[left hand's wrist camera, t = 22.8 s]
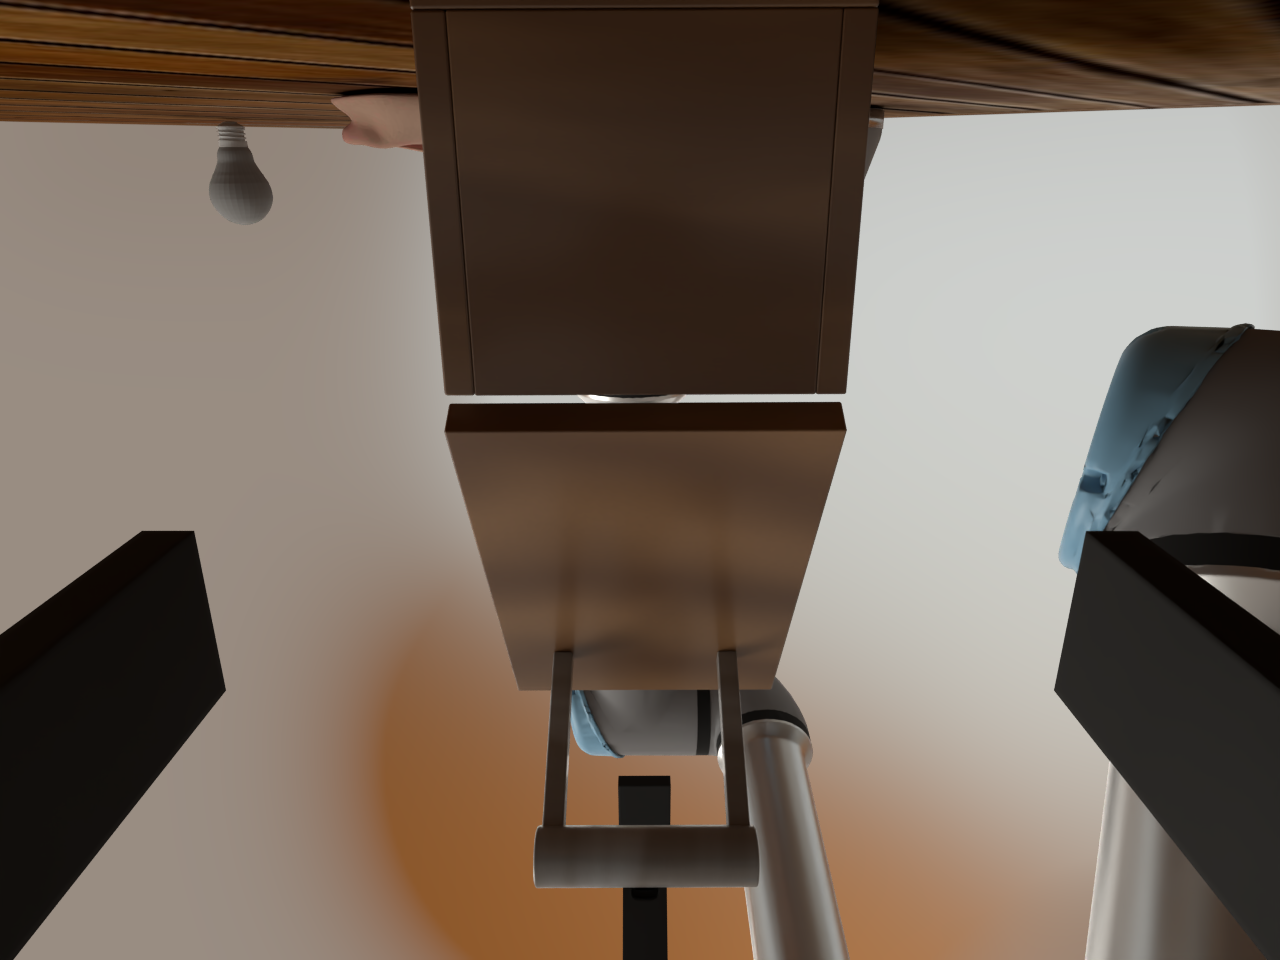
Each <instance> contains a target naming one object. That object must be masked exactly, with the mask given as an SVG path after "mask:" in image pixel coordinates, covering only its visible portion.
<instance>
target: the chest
mask: <svg viewBox="0 0 1280 960" xmlns="http://www.w3.org/2000/svg"><path fill="white" fill-rule="evenodd" d="M878 4H879V0H410V7H411V9H412V10H413V11H411V22H412V33H413V44H414V56H415V67H416V78H417V89H418V100H419V111H420V123H421V134H422V145H423V156H424V167H425V178H426V190H427V200H428V212H429V223H430V234H431V245H432V257H433V267H434V279H435V290H436V301H437V312H438V324H439V335H440V346H441V357H442V368H443V379H444V390H445V394H446V395H448V396H450V395H474V394H475V395H478V396H481V395H704V394H706V395H709V394H815V393H816V394H845V393H846V387H847V375H848V364H849V352H850V340H851V328H852V316H853V305H854V293H855V281H856V269H857V258H858V246H859V234H860V222H861V211H862V199H863V187H864V175H865V164H866V152H867V140H868V128H869V116H870V105H871V93H872V81H873V69H874V58H875V46H876V34H877V22H878V11H879V10H878V8H876V7H878Z"/></svg>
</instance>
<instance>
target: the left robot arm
mask: <svg viewBox="0 0 1280 960" xmlns="http://www.w3.org/2000/svg"><path fill="white" fill-rule="evenodd" d="M1254 328H1255V327H1254V326H1253V325H1252V324H1246V323H1245V324H1239V325H1235V326H1233V327H1231V328H1219V327H1185V326H1166V327H1159V328H1155V329H1151V330H1149V331H1148V332H1146V333H1144V334H1142V335H1140V336H1138V337H1136V338H1135V339H1134V340H1133V341H1132V342H1131V343H1130V344H1129V345H1128V346H1127V348H1126V349H1125V350H1124V352H1123V353H1122V356H1121V358H1120V360H1119V363H1118V365H1117V368H1116V370H1115V373H1114V376H1113V379H1112V382H1111V385H1110V388H1109V390H1108V393H1107V396H1106V399H1105V402H1104V405H1103V408H1102V411H1101V414H1100V417H1099V421H1098V424H1097V427H1096V430H1095V433H1094V436H1093V439H1092V443H1091V446H1090V449H1089V452H1088V456H1087V459H1086V462H1085V466H1084V471H1083V475H1082V477H1081V479H1080V482H1079V486H1078V489H1077V492H1076V496H1075V498H1074V501H1073V504H1072V507H1071V510H1070V513H1069V517H1068V520H1067V524H1066V527H1065V530H1064V534H1063V538H1062V541H1061V545H1060V550H1059V560H1060V562H1061V563H1062V565H1063V566H1065V567H1067V568H1070V569H1073V570H1074V571H1075V572H1076V573H1077V578H1076V583H1075V588H1074V593H1073V598H1072V603H1071V608H1070V613H1069V618H1068V623H1067V628H1066V633H1065V638H1064V643H1063V648H1062V653H1061V658H1060V663H1059V668H1058V673H1057V679H1056V684H1055V688H1054V691H1055V692H1056V693H1057V695H1058V696H1059V697H1060V698H1061V700H1062V701H1063V702H1064V704H1065V705H1066V706H1067V707H1068V709H1069V710H1070V711H1071V712H1072V714H1073V715H1074V716H1075V718H1076V719H1077V720H1078V721H1079V723H1080V724H1081V725H1082V726H1083V728H1084V729H1085V730H1086V731H1087V733H1088V734H1089V735H1090V737H1091V738H1092V739H1093V740H1094V742H1095V743H1096V744H1097V745H1098V747H1099V748H1100V749H1101V750H1102V752H1103V753H1104V754H1105V756H1106V757H1107V758H1108V759H1109V769H1108V777H1107V785H1106V793H1105V801H1104V809H1103V818H1102V825H1101V834H1100V842H1099V850H1098V858H1097V866H1096V874H1095V882H1094V890H1093V898H1092V906H1091V915H1090V923H1089V931H1088V939H1087V947H1086V955H1085V960H1280V331H1275V330H1261V329H1254ZM225 691H226V688H225V683H224V678H223V673H222V668H221V663H220V658H219V654H218V648H217V643H216V638H215V633H214V628H213V623H212V618H211V613H210V608H209V603H208V598H207V593H206V588H205V583H204V578H203V573H202V568H201V563H200V558H199V553H198V548H197V543H196V538H195V533H194V531H141V532H140V533H139V534H137V535H136V536H134V537H133V538H132V539H130V540H129V541H128V542H126V543H125V544H124V545H122V546H121V547H120V548H118V549H117V550H115V551H114V552H113V553H111V554H110V555H109V556H107V557H106V558H104V559H103V560H102V561H100V562H99V563H98V564H96V565H95V566H93V567H92V568H91V569H89V570H88V571H87V572H85V573H84V574H83V575H81V576H80V577H79V578H77V579H76V580H74V581H73V582H72V583H70V584H69V585H68V586H66V587H65V588H63V589H62V590H61V591H59V592H58V593H57V594H55V595H54V596H53V597H51V598H50V599H48V600H47V601H46V602H44V603H43V604H42V605H40V606H39V607H38V608H36V609H35V610H33V611H32V612H31V613H29V614H28V615H27V616H25V617H24V618H23V619H21V620H20V621H19V622H17V623H16V624H14V625H13V626H12V627H10V628H9V629H8V630H6V631H5V632H3V633H2V634H1V635H0V960H13V959H14V958H15V957H16V956H17V954H18V953H19V952H20V950H21V949H22V948H23V947H24V945H25V944H26V943H27V942H28V940H29V939H30V938H31V936H32V935H33V934H34V933H35V932H36V930H37V929H38V928H39V926H40V925H41V924H42V923H43V921H44V920H45V919H46V918H47V916H48V915H49V914H50V913H51V911H52V910H53V909H54V907H55V906H56V905H57V904H58V902H59V901H60V900H61V899H62V897H63V896H64V895H65V894H66V892H67V891H68V890H69V888H70V887H71V886H72V885H73V883H74V882H75V881H76V880H77V878H78V877H79V876H80V875H81V873H82V872H83V871H84V869H85V868H86V867H87V866H88V864H89V863H90V862H91V861H92V859H93V858H94V857H95V856H96V854H97V853H98V852H99V850H100V849H101V848H102V847H103V845H104V844H105V843H106V842H107V840H108V839H109V838H110V837H111V835H112V834H113V833H114V831H115V830H116V829H117V828H118V826H119V825H120V824H121V823H122V821H123V820H124V819H125V817H126V816H127V815H128V814H129V813H130V811H131V810H132V809H133V807H134V806H135V805H136V804H137V802H138V801H139V800H140V799H141V797H142V796H143V795H144V793H145V792H146V791H147V790H148V788H149V787H150V786H151V785H152V783H153V782H154V781H155V780H156V778H157V777H158V776H159V775H160V773H161V772H162V771H163V769H164V768H165V767H166V766H167V764H168V763H169V762H170V761H171V759H172V758H173V757H174V755H175V754H176V753H177V752H178V750H179V749H180V748H181V747H182V745H183V744H184V743H185V742H186V740H187V739H188V738H189V736H190V735H191V734H192V733H193V731H194V730H195V729H196V728H197V726H198V725H199V724H200V723H201V721H202V720H203V719H204V718H205V716H206V715H207V714H208V712H209V711H210V710H211V709H212V707H213V706H214V705H215V704H216V702H217V701H218V700H219V699H220V697H221V696H222V695H223V693H224V692H225Z"/></svg>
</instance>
